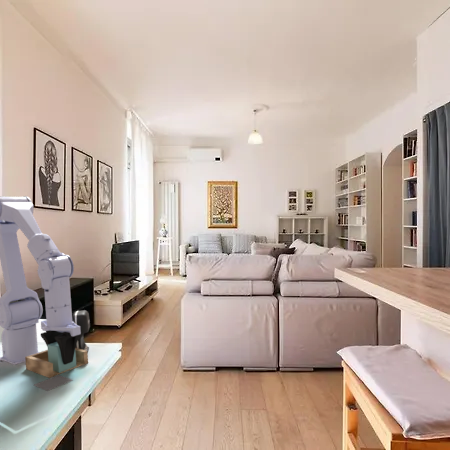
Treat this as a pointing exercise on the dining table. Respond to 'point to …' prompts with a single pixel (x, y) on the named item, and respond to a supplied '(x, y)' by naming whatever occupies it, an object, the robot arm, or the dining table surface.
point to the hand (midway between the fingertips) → (62, 361)
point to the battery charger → (82, 327)
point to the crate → (45, 368)
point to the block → (58, 358)
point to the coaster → (53, 382)
